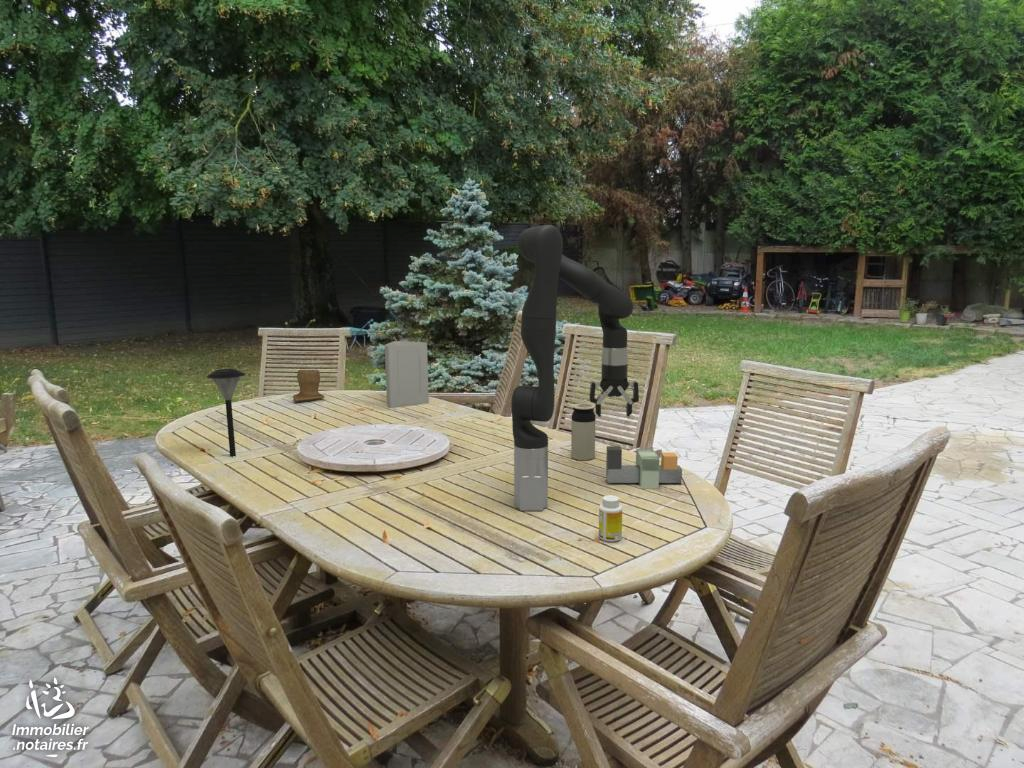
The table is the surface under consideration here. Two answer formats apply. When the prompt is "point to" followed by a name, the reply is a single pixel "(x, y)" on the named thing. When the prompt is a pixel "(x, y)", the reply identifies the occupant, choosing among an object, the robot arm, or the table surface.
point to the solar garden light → (227, 397)
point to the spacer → (669, 460)
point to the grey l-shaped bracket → (634, 470)
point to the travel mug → (583, 432)
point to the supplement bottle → (610, 519)
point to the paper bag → (406, 373)
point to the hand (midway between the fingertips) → (613, 416)
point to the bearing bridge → (648, 468)
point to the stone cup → (308, 386)
